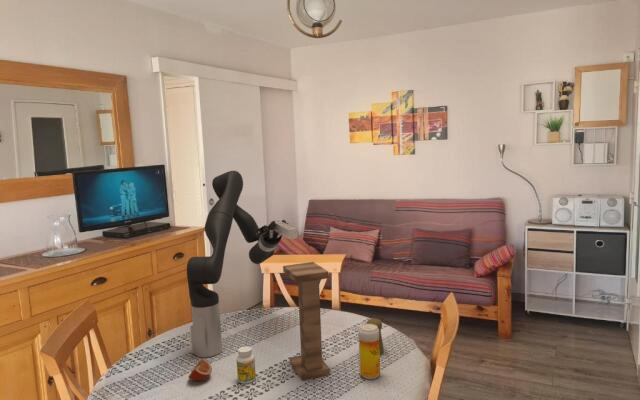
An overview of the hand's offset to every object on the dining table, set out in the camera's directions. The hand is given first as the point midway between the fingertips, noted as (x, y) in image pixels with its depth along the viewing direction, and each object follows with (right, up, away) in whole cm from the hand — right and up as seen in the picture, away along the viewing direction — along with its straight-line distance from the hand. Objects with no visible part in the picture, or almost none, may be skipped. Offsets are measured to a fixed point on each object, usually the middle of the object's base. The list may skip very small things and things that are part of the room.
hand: (279, 222), depth 166 cm
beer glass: (+29, -45, -24) cm, 59 cm away
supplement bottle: (-8, -46, -24) cm, 53 cm away
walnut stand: (+11, -45, -19) cm, 50 cm away
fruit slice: (-22, -46, -22) cm, 56 cm away
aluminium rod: (+2, -3, -5) cm, 6 cm away
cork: (+33, -43, -9) cm, 54 cm away
